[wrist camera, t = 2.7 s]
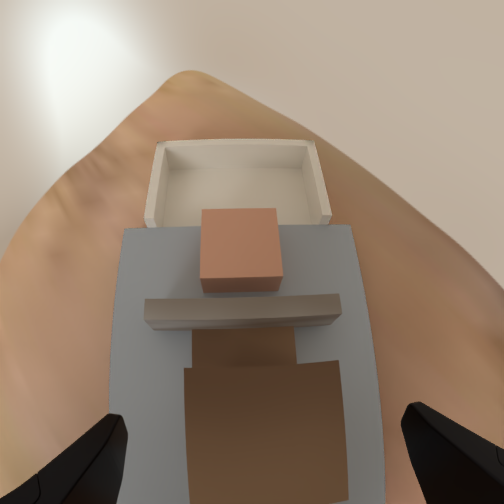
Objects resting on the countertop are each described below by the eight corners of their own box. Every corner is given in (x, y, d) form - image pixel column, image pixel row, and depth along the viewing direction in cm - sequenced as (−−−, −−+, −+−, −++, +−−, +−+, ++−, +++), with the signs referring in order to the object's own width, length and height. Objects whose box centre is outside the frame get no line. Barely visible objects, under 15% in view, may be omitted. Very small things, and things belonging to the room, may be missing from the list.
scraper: (338, 441, 14) (466, 463, 5) (156, 450, 13) (52, 494, 4) (325, 309, 17) (413, 195, 8) (156, 314, 16) (79, 198, 7)
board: (371, 496, 13) (385, 503, 12) (127, 509, 12) (116, 518, 11) (341, 240, 21) (350, 224, 20) (132, 244, 20) (124, 228, 19)
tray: (320, 240, 21) (332, 215, 19) (154, 244, 20) (143, 218, 18) (306, 168, 24) (313, 140, 22) (164, 170, 23) (157, 141, 21)
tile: (278, 290, 17) (283, 276, 15) (203, 292, 17) (199, 278, 15) (272, 227, 19) (276, 208, 17) (204, 229, 19) (201, 209, 17)
